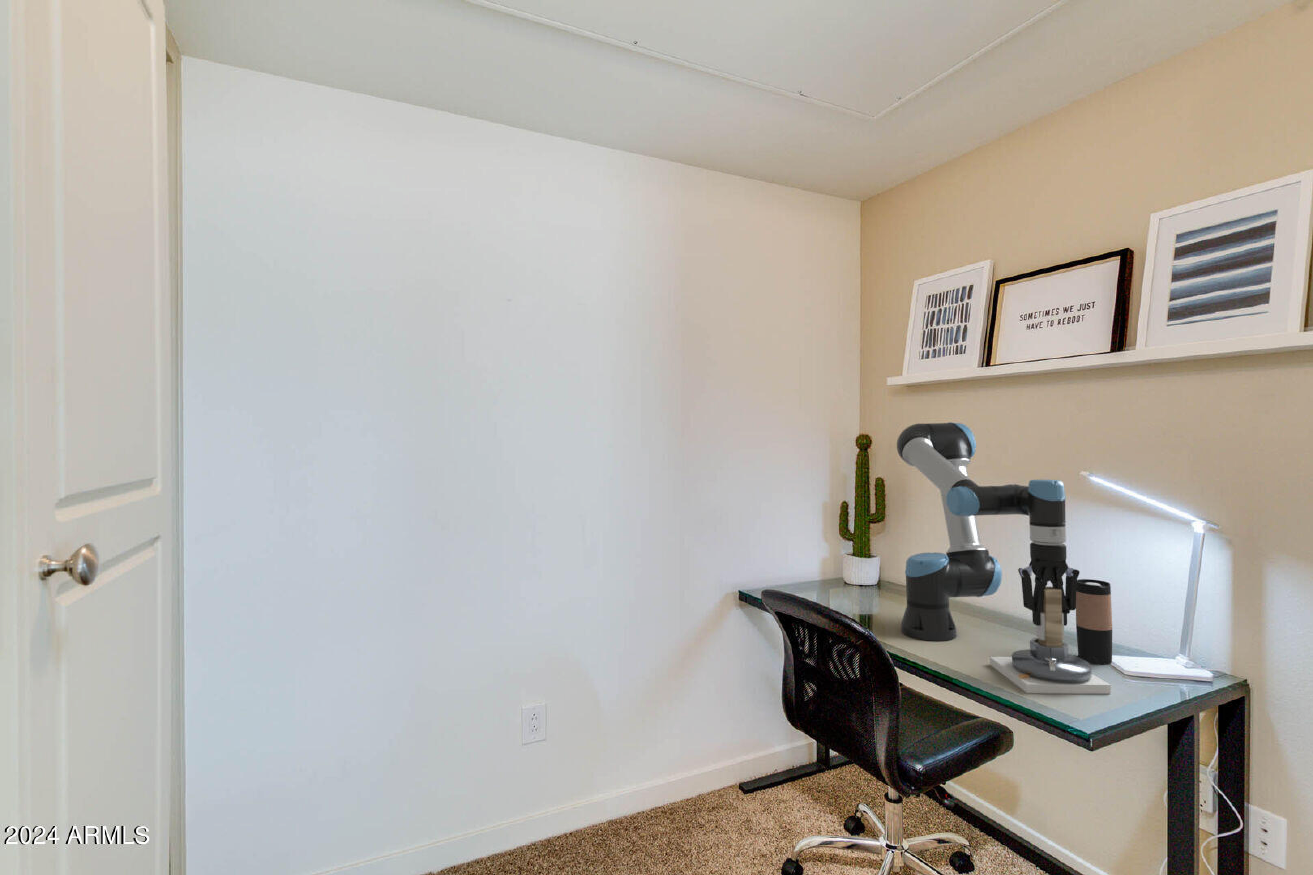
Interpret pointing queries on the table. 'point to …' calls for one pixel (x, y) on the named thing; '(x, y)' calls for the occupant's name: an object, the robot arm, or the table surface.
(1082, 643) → the travel mug
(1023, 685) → the plate
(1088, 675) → the dial
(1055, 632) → the stick
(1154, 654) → the table surface
